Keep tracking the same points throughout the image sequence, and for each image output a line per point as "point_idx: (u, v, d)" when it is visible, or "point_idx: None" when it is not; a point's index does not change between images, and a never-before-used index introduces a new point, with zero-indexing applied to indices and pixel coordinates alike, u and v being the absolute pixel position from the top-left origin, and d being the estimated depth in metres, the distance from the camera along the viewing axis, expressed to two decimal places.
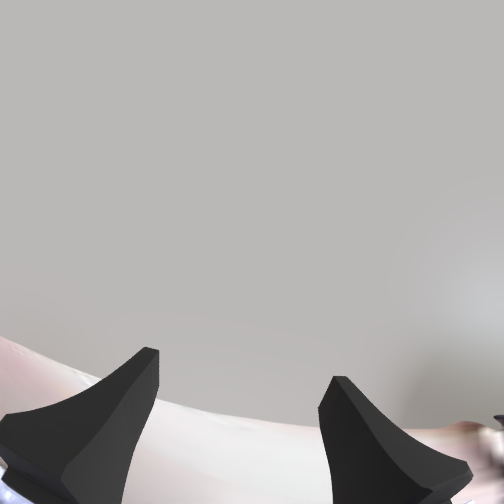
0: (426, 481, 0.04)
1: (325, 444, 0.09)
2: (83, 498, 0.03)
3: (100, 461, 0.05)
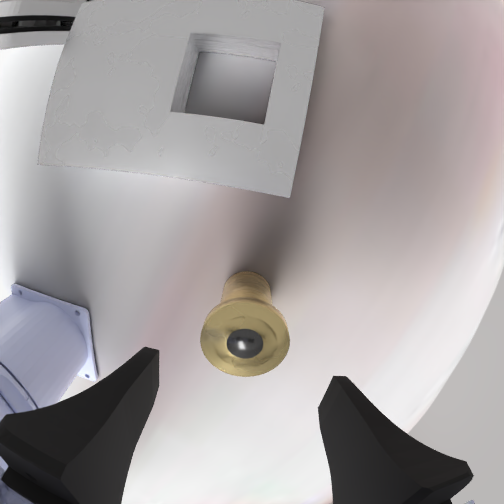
0: (426, 481, 0.04)
1: (325, 443, 0.09)
2: (83, 498, 0.03)
3: (100, 461, 0.05)
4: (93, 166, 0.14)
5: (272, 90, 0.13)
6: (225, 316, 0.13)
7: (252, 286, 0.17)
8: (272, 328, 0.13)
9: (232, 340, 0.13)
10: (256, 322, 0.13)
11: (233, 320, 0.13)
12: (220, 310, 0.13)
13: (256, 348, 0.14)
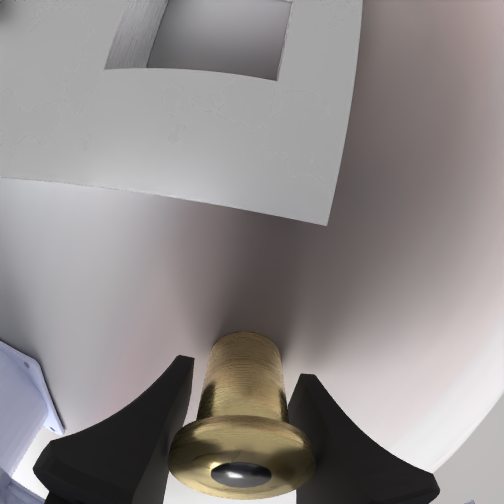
0: (379, 494, 0.04)
1: None
2: None
3: (153, 478, 0.05)
4: (1, 174, 0.07)
5: (291, 23, 0.06)
6: (205, 448, 0.06)
7: (254, 368, 0.09)
8: (289, 460, 0.06)
9: (220, 473, 0.06)
10: (260, 457, 0.06)
11: (219, 453, 0.06)
12: (195, 442, 0.06)
13: (259, 480, 0.06)
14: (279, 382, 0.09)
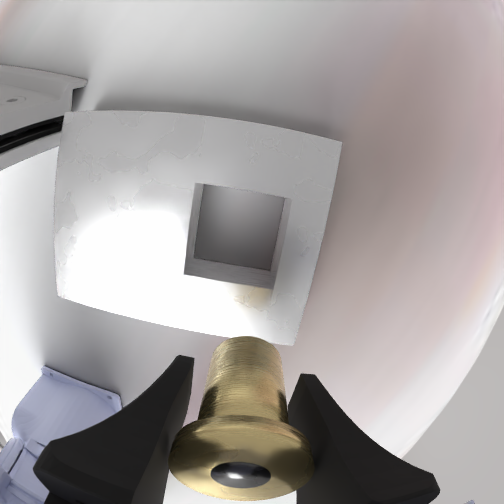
0: (379, 494, 0.04)
1: None
2: None
3: (153, 478, 0.05)
4: (116, 311, 0.16)
5: (281, 256, 0.15)
6: (204, 448, 0.06)
7: (254, 370, 0.10)
8: (287, 460, 0.06)
9: (220, 472, 0.06)
10: (258, 456, 0.06)
11: (219, 453, 0.06)
12: (194, 441, 0.06)
13: (259, 480, 0.06)
14: (279, 384, 0.10)
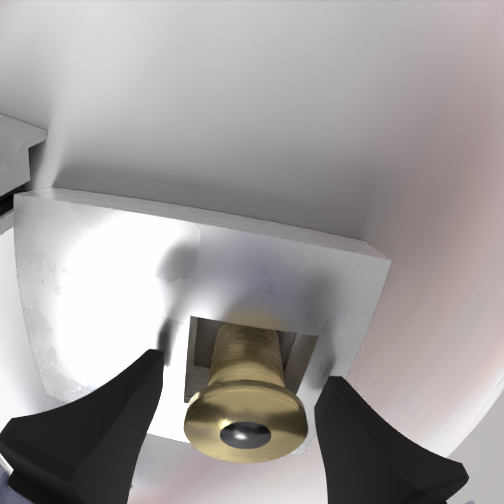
0: (420, 483, 0.04)
1: (320, 444, 0.09)
2: (91, 502, 0.03)
3: (107, 464, 0.05)
4: None
5: (299, 390, 0.11)
6: (215, 409, 0.08)
7: (255, 344, 0.11)
8: (285, 420, 0.08)
9: (228, 433, 0.08)
10: (261, 415, 0.08)
11: (227, 413, 0.08)
12: (207, 402, 0.08)
13: (261, 440, 0.08)
14: (276, 357, 0.11)
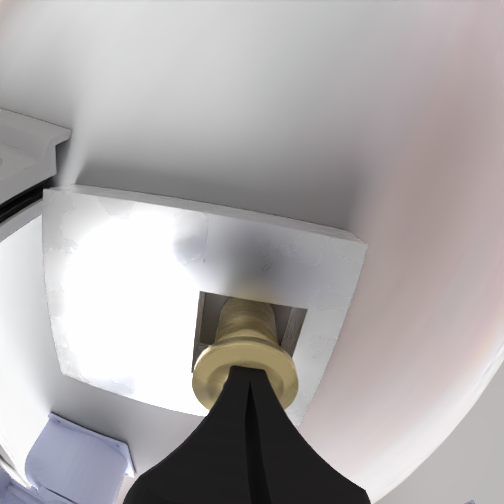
0: None
1: None
2: None
3: None
4: (123, 394, 0.15)
5: None
6: (219, 361, 0.10)
7: (253, 315, 0.14)
8: (278, 373, 0.10)
9: None
10: (257, 367, 0.10)
11: (229, 365, 0.10)
12: (213, 354, 0.10)
13: None
14: (272, 327, 0.14)
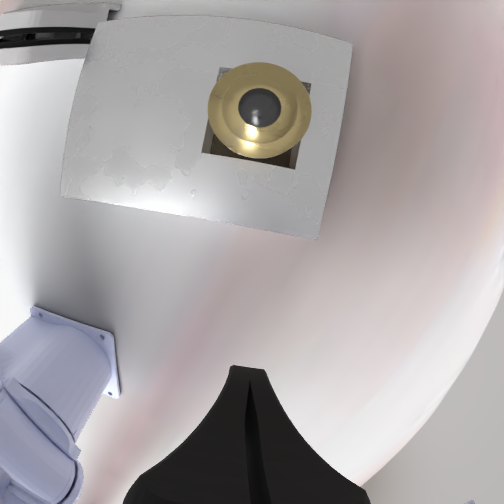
0: (286, 503, 0.04)
1: None
2: None
3: None
4: (122, 203, 0.15)
5: None
6: (237, 75, 0.10)
7: None
8: (290, 89, 0.11)
9: (245, 102, 0.11)
10: (271, 81, 0.10)
11: (246, 79, 0.10)
12: (232, 69, 0.10)
13: (273, 113, 0.11)
14: None
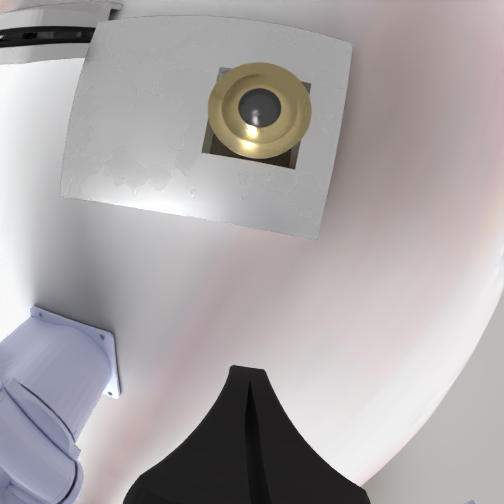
0: (286, 503, 0.04)
1: None
2: None
3: None
4: (122, 203, 0.15)
5: None
6: (237, 75, 0.10)
7: None
8: (290, 89, 0.11)
9: (245, 102, 0.11)
10: (271, 81, 0.10)
11: (246, 79, 0.10)
12: (232, 69, 0.10)
13: (273, 113, 0.11)
14: None
